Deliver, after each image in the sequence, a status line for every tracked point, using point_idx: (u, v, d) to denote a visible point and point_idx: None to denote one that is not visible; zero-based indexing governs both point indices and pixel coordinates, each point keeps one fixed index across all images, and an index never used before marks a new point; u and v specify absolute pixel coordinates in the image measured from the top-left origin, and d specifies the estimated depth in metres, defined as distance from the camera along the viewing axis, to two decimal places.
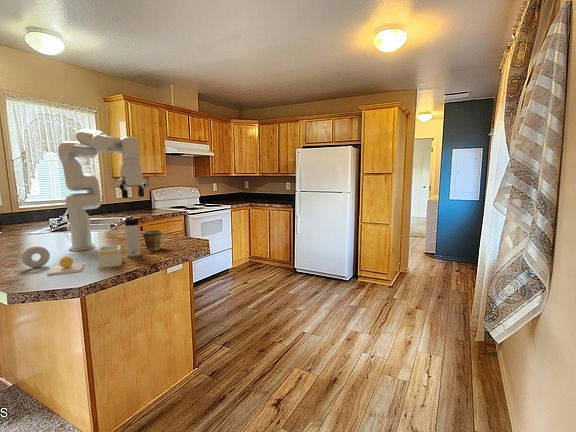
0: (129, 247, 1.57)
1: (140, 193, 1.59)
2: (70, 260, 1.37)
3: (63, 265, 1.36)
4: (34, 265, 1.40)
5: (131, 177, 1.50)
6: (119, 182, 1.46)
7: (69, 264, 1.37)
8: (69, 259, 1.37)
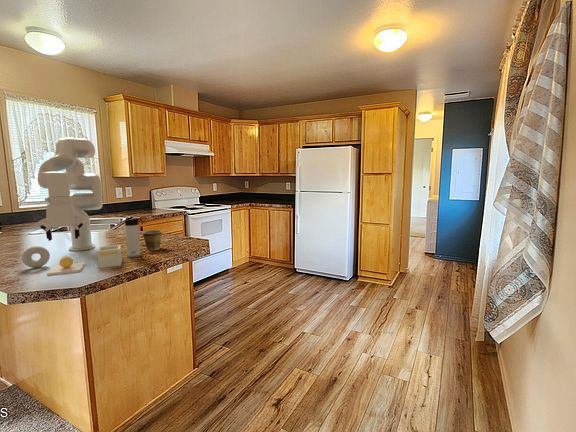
0: (129, 247, 1.57)
1: (51, 236, 1.34)
2: (70, 260, 1.37)
3: (63, 265, 1.36)
4: (34, 265, 1.40)
5: None
6: None
7: (69, 264, 1.37)
8: (69, 259, 1.37)
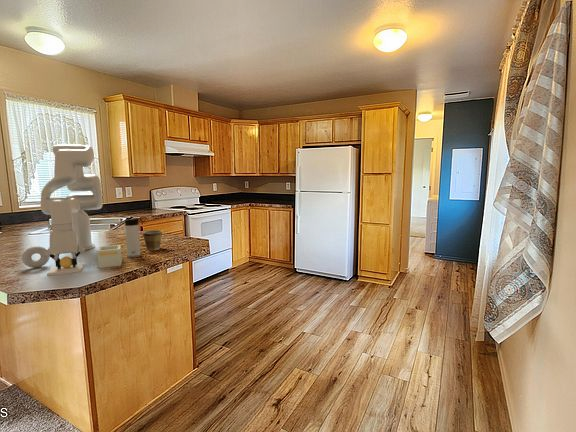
0: (129, 247, 1.57)
1: None
2: (70, 260, 1.37)
3: (63, 265, 1.36)
4: (34, 265, 1.40)
5: None
6: None
7: (69, 264, 1.37)
8: (69, 259, 1.37)
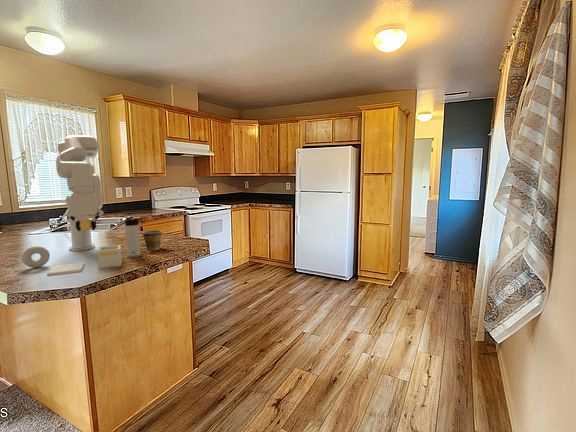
0: (129, 247, 1.57)
1: (79, 226, 1.39)
2: (89, 223, 1.39)
3: (83, 228, 1.38)
4: (34, 265, 1.40)
5: None
6: None
7: (88, 227, 1.39)
8: (88, 222, 1.39)
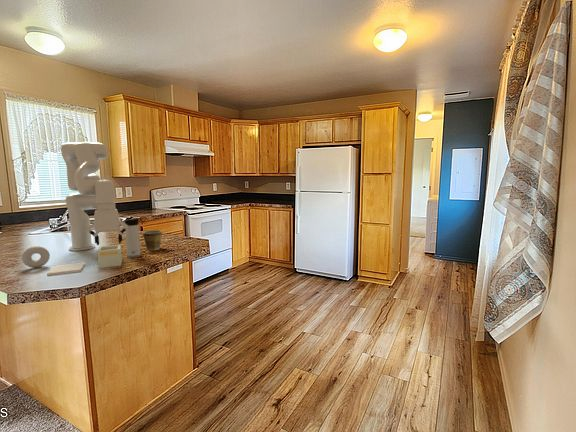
0: (129, 247, 1.57)
1: (98, 241, 1.43)
2: None
3: None
4: (34, 265, 1.40)
5: None
6: None
7: None
8: None
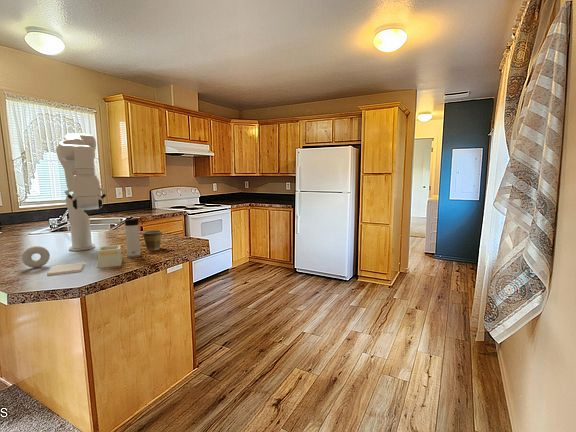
0: (129, 247, 1.57)
1: (76, 205, 1.46)
2: None
3: None
4: (34, 265, 1.40)
5: None
6: None
7: None
8: None
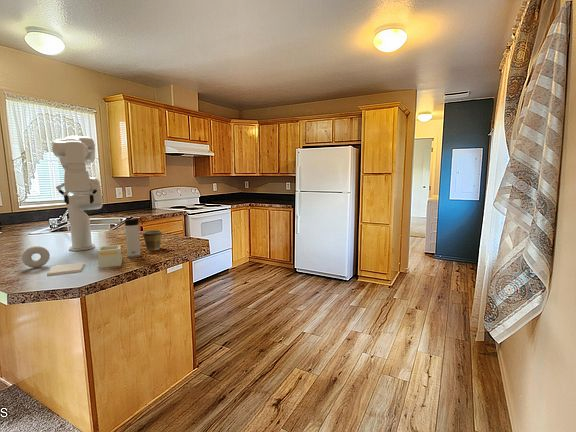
0: (129, 247, 1.57)
1: (68, 200, 1.47)
2: None
3: None
4: (34, 265, 1.40)
5: None
6: None
7: None
8: None
